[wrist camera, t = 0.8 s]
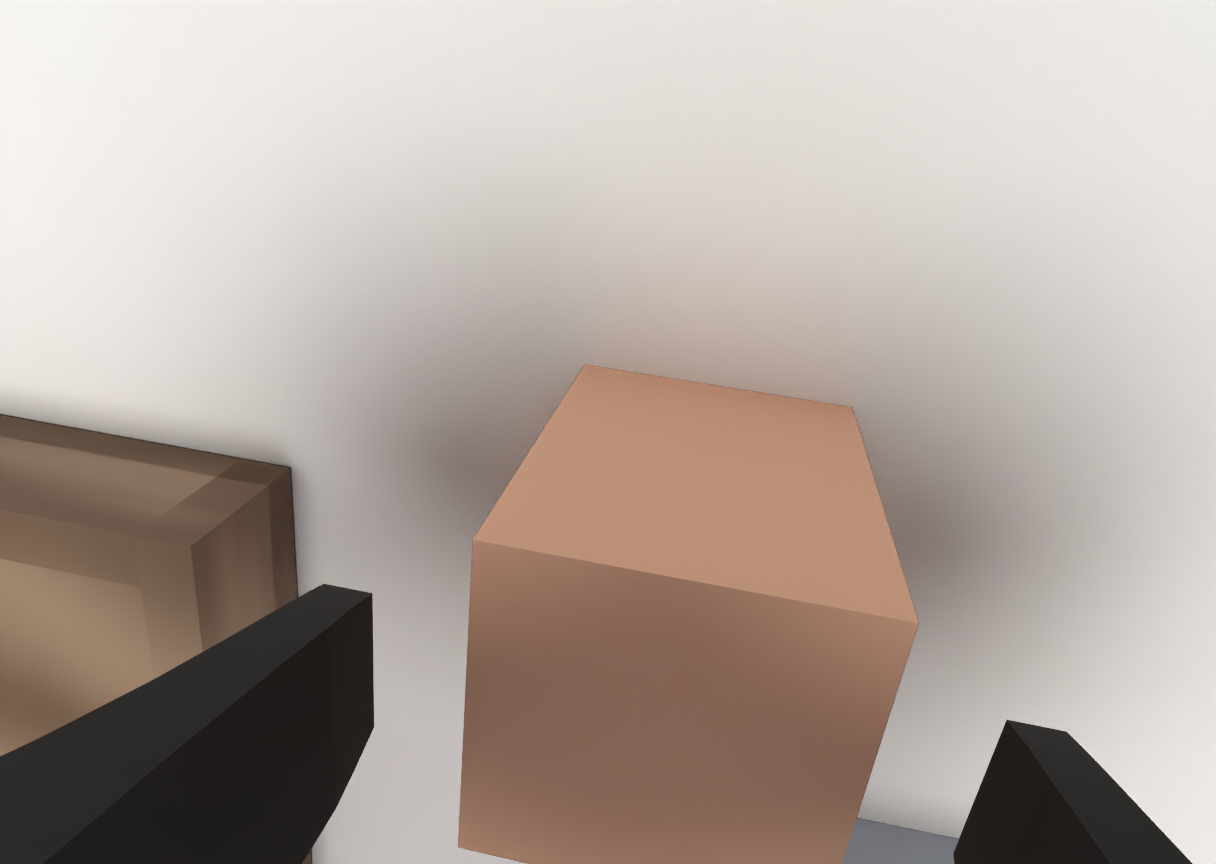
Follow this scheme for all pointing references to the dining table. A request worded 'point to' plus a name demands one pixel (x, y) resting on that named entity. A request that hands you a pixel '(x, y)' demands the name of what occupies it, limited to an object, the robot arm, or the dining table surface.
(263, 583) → the walnut tray
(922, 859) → the slate block
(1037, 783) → the robot arm
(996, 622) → the dining table surface
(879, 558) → the terracotta block
